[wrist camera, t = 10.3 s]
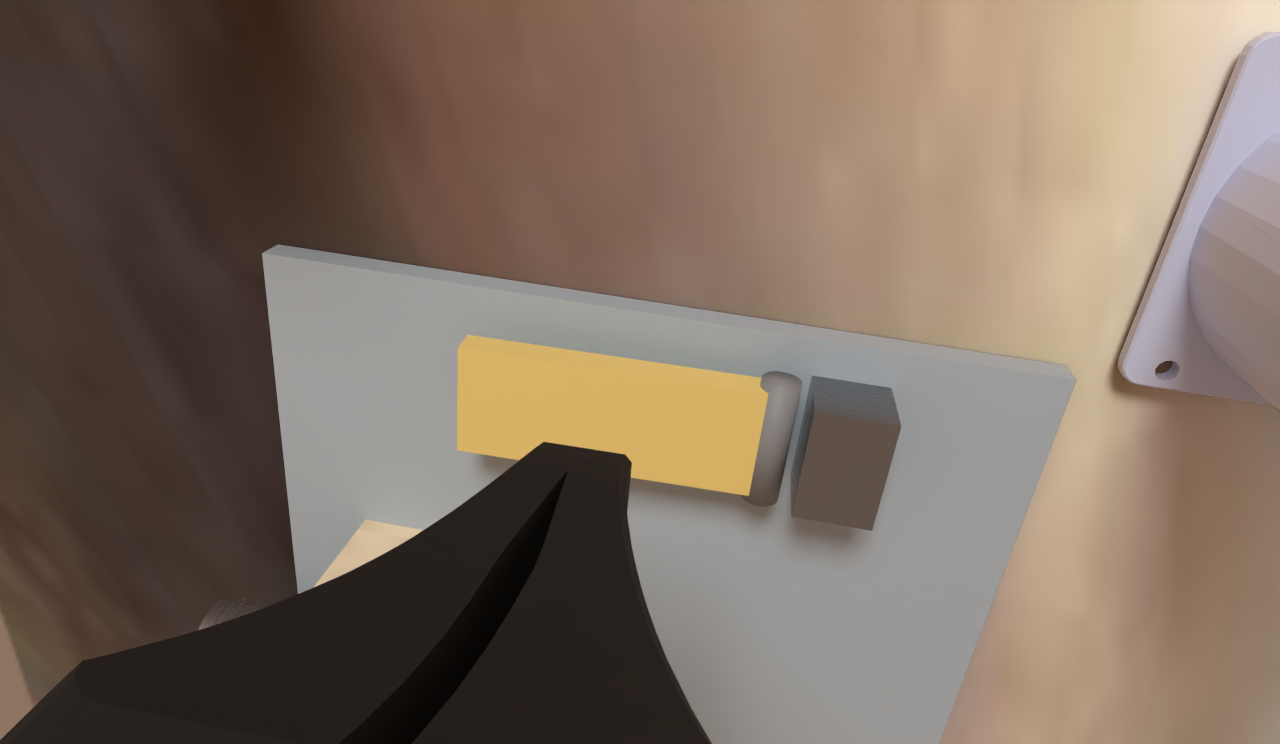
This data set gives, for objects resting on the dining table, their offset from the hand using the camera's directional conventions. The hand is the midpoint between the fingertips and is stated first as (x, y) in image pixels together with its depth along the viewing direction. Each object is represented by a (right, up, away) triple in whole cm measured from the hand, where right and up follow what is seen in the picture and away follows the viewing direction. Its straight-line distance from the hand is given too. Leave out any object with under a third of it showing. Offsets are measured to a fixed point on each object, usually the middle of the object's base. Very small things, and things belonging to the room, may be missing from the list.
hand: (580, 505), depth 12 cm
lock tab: (+1, +1, +9) cm, 10 cm away
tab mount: (+6, +1, +10) cm, 12 cm away
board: (0, -4, +13) cm, 14 cm away
